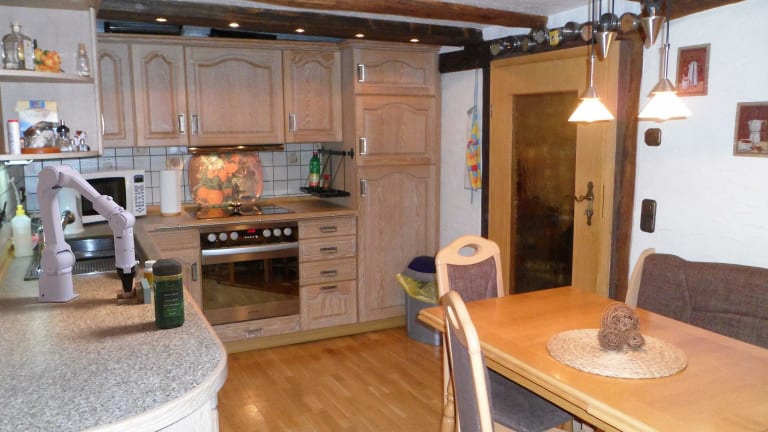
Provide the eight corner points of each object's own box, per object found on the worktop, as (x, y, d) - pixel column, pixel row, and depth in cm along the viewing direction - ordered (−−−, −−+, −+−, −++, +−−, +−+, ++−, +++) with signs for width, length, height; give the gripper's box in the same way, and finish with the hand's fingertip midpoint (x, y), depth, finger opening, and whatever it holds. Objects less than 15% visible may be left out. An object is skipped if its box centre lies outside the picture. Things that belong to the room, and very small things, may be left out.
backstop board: (144, 304, 193) (143, 288, 193) (141, 293, 206) (140, 279, 205) (151, 303, 194) (150, 288, 193) (147, 292, 207) (146, 278, 206)
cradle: (118, 305, 192) (117, 291, 191) (117, 298, 200) (116, 284, 200) (143, 302, 195) (142, 288, 195) (141, 295, 204) (140, 281, 203)
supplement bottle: (155, 291, 208) (153, 263, 207) (141, 290, 209) (139, 263, 208) (164, 287, 213) (162, 260, 212) (150, 286, 214) (148, 259, 213)
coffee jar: (187, 326, 171) (183, 261, 169) (157, 330, 168) (153, 265, 165) (182, 316, 180) (178, 255, 177) (154, 320, 177) (149, 258, 174)
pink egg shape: (120, 297, 196) (118, 279, 195) (125, 294, 199) (124, 276, 199) (132, 297, 196) (131, 279, 195) (137, 294, 200) (136, 276, 199)
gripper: (139, 251, 190) (142, 294, 192) (136, 244, 203) (139, 283, 205) (115, 254, 187) (118, 296, 189) (113, 246, 200) (116, 286, 202)
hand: (127, 290), depth 197 cm, fingers closed on pink egg shape, 4 cm apart
